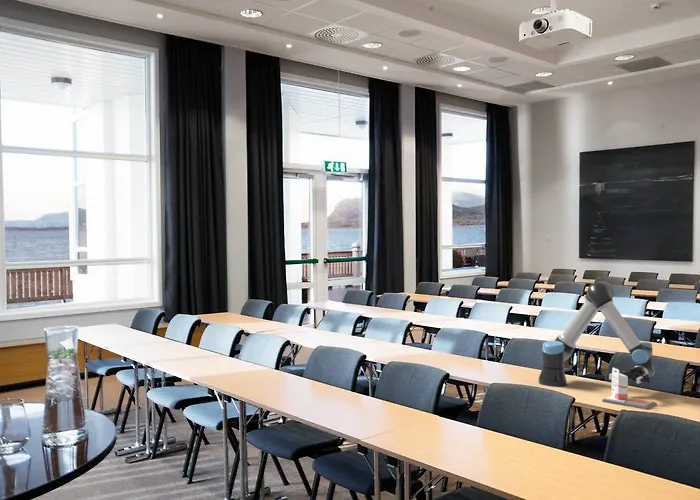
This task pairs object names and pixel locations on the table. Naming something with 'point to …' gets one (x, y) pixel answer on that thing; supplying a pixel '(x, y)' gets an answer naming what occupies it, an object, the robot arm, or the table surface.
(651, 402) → the tile board
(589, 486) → the table surface
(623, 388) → the ink cartridge box
